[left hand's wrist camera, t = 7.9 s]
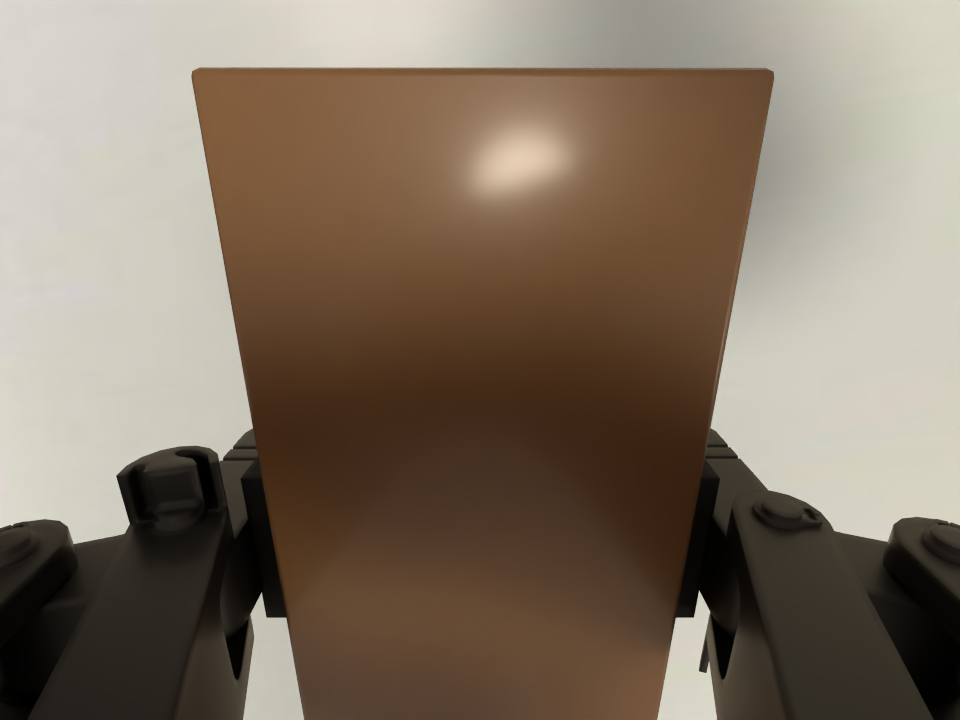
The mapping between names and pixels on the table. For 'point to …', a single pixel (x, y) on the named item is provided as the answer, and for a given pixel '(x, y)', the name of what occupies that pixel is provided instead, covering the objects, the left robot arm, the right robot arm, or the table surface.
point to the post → (481, 367)
